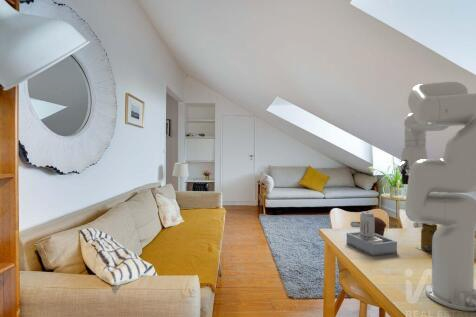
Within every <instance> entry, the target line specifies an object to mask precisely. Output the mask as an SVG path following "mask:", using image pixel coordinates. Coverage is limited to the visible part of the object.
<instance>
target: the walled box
mask: <svg viewBox="0 0 476 317" xmlns="http://www.w3.org/2000/svg"><path fill="white" fill-rule="evenodd" d="M346 244H347V245H349V246H351V247H353V248H354V249H357V250H358V251H360V252H363V253H365V254H368V255H369V256H371V257H376V256H384V255H391V254H397V253H398V241H396V240H393V239H391V238H389V237H386V236H384V235H383V236H381V235H378V234H376V233H374V240H371V241H365V240H363V239H361V238H360V231H354V232H346Z"/></svg>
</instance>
